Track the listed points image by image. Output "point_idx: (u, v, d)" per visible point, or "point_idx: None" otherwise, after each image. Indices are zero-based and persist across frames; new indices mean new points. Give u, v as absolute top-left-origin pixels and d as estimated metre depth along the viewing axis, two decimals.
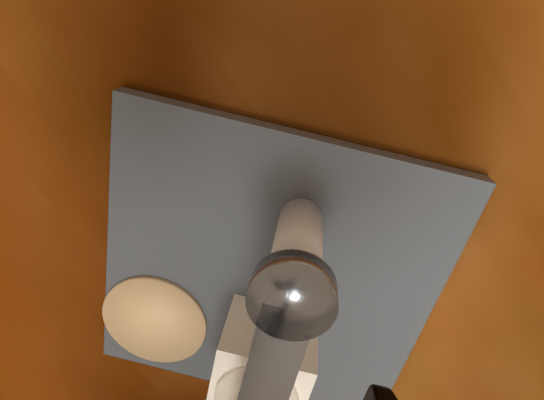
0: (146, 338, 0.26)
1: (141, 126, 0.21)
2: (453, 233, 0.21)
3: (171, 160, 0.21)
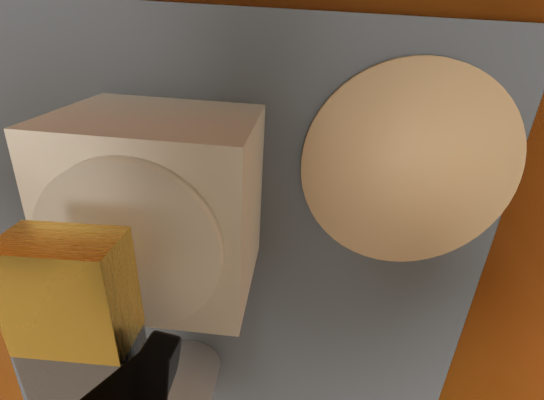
0: (431, 125, 0.12)
1: None
2: None
3: None
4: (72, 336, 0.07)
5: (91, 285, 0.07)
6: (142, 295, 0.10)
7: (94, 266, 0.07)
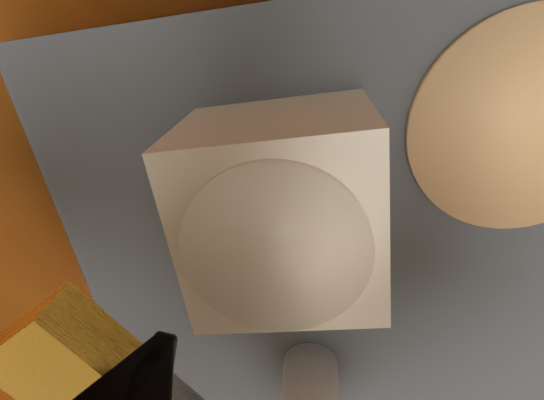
0: None
1: None
2: None
3: (487, 382, 0.17)
4: (76, 390, 0.08)
5: (47, 342, 0.08)
6: (292, 299, 0.10)
7: (40, 327, 0.08)
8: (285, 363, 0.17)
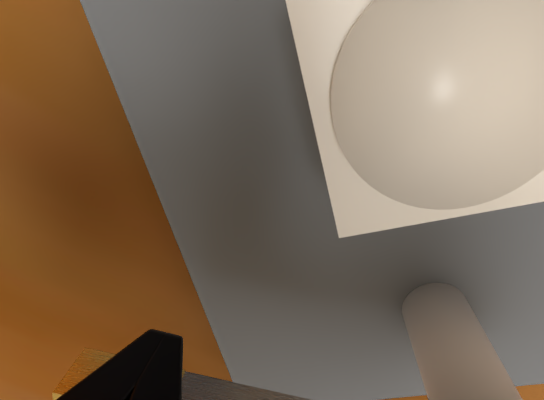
0: None
1: None
2: (243, 358, 0.17)
3: None
4: None
5: None
6: (477, 158, 0.08)
7: None
8: (408, 309, 0.14)
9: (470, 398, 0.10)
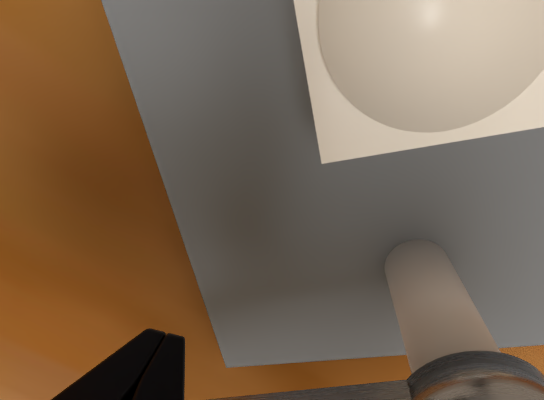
0: None
1: None
2: (226, 311, 0.17)
3: None
4: None
5: None
6: (458, 78, 0.08)
7: None
8: (390, 263, 0.15)
9: (443, 334, 0.10)
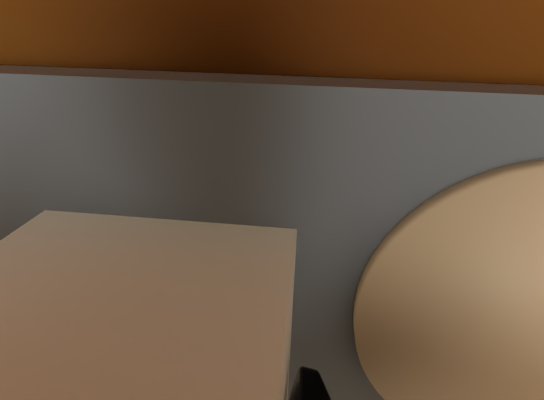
0: None
1: None
2: None
3: None
4: None
5: None
6: None
7: None
8: None
9: None
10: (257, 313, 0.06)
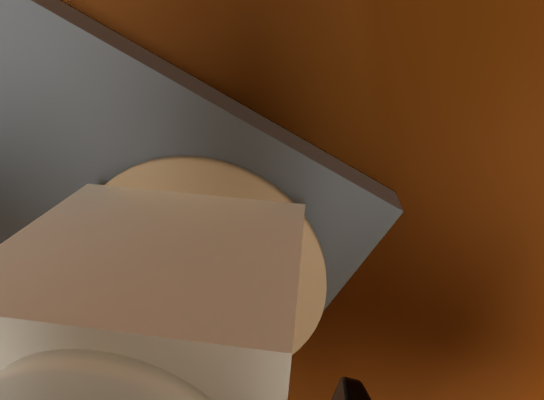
0: None
1: None
2: None
3: None
4: None
5: None
6: None
7: None
8: None
9: None
10: (276, 263, 0.07)
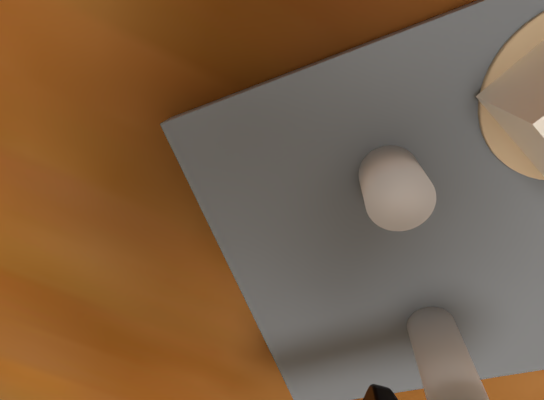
0: None
1: None
2: (293, 368, 0.23)
3: None
4: None
5: None
6: None
7: None
8: (410, 327, 0.20)
9: (447, 390, 0.16)
10: None
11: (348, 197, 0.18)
